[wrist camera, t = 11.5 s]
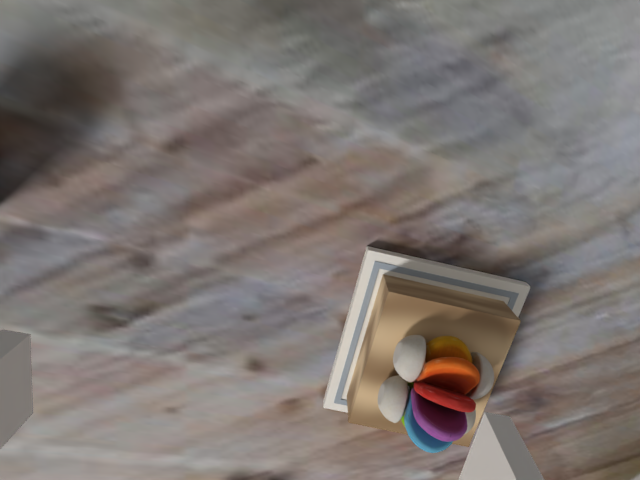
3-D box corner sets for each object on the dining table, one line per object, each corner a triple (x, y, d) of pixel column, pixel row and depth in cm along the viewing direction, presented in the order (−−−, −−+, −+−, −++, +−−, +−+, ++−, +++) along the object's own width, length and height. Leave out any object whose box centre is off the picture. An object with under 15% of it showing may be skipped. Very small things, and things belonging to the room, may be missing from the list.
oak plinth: (382, 274, 42) (388, 291, 38) (503, 301, 43) (521, 320, 39) (346, 395, 46) (348, 422, 42) (456, 418, 47) (468, 447, 43)
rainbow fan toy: (493, 340, 39) (529, 391, 32) (452, 426, 42) (477, 490, 35) (403, 315, 39) (420, 361, 32) (368, 403, 42) (376, 464, 35)
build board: (366, 245, 42) (367, 250, 41) (525, 281, 43) (531, 287, 42) (323, 400, 48) (323, 408, 46) (465, 429, 49) (469, 437, 47)
